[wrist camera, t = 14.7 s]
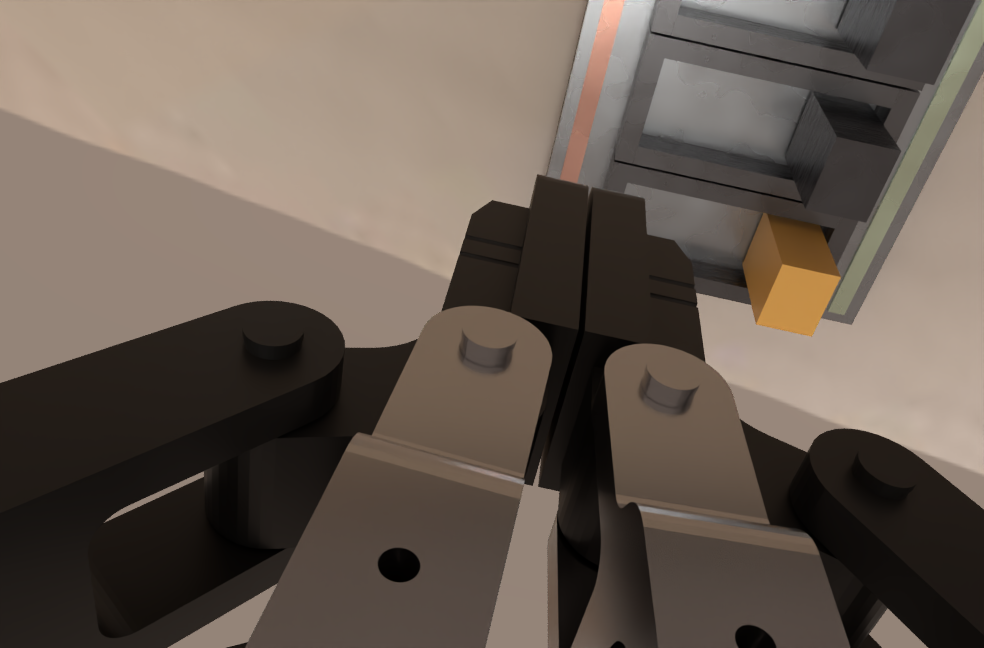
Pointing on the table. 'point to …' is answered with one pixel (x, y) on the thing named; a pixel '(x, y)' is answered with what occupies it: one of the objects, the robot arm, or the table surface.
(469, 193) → the table surface
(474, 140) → the table surface
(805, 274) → the block
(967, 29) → the panel
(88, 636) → the robot arm
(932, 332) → the table surface
